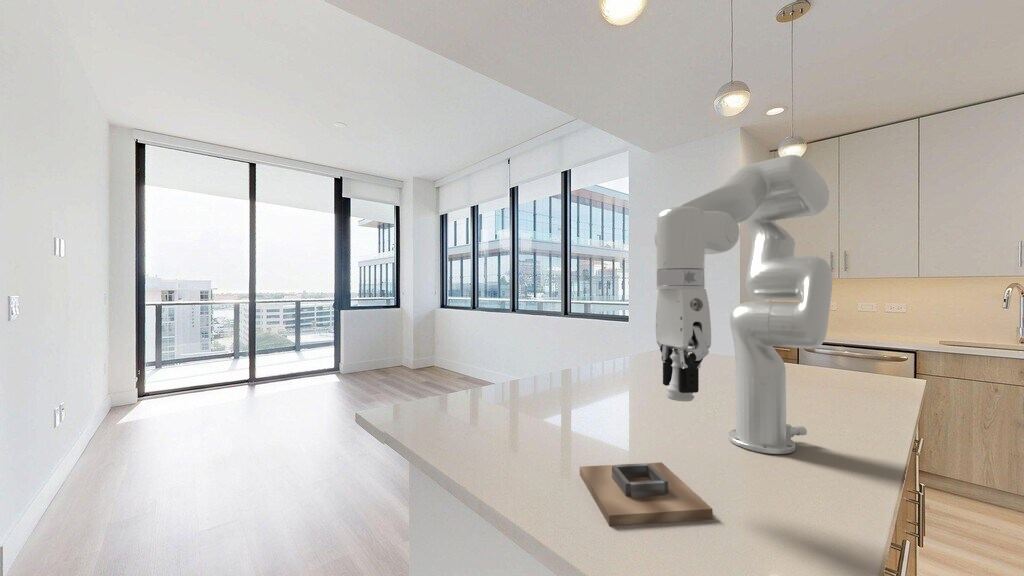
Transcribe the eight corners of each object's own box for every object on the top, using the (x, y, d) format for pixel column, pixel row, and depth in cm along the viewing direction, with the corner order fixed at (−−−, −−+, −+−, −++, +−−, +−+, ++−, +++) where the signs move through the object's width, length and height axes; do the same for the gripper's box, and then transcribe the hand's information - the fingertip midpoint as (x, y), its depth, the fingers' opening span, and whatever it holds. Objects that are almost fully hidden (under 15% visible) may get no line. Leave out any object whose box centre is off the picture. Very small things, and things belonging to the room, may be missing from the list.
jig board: (661, 470, 75) (661, 451, 75) (712, 518, 59) (712, 495, 59) (579, 474, 73) (579, 455, 73) (609, 525, 57) (608, 501, 57)
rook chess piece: (661, 395, 69) (661, 349, 69) (685, 394, 69) (685, 349, 69) (674, 402, 64) (674, 353, 64) (700, 401, 65) (700, 353, 65)
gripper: (733, 279, 59) (734, 401, 59) (674, 282, 76) (674, 377, 75) (687, 278, 58) (687, 402, 58) (637, 282, 75) (637, 378, 75)
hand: (679, 387), depth 67 cm, fingers closed on rook chess piece, 4 cm apart
